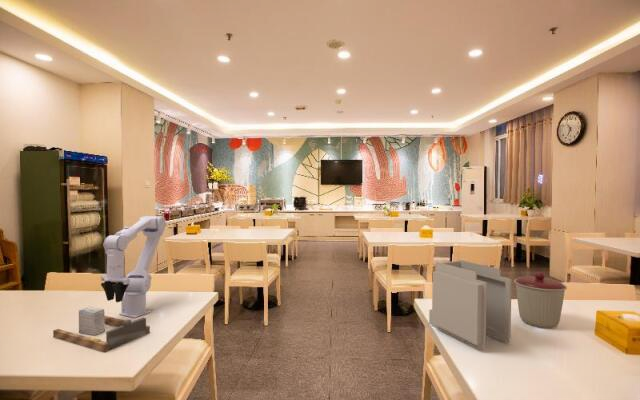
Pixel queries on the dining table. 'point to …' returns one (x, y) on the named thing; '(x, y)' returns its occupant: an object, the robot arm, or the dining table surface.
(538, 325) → the canister
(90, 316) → the medicine box
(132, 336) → the brown piece
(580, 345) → the dining table surface
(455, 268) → the grey napkin holder
